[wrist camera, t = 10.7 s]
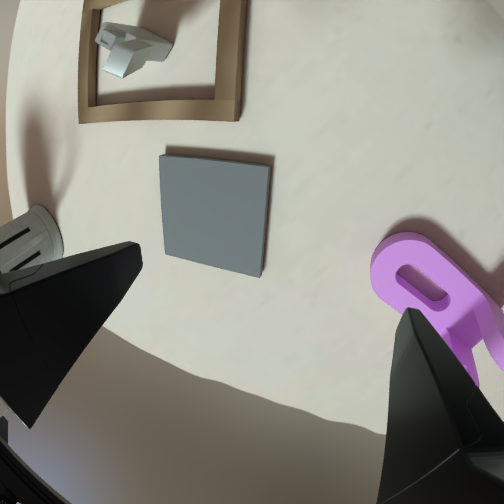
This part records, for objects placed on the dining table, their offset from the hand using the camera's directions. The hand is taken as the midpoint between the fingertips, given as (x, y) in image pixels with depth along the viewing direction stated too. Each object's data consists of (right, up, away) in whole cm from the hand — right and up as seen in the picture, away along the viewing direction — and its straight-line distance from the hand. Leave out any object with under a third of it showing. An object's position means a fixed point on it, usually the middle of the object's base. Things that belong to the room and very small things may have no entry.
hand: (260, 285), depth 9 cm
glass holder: (-26, +4, +24) cm, 36 cm away
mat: (-3, +4, +15) cm, 16 cm away
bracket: (+14, -2, +11) cm, 18 cm away
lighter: (-7, +17, +10) cm, 20 cm away
